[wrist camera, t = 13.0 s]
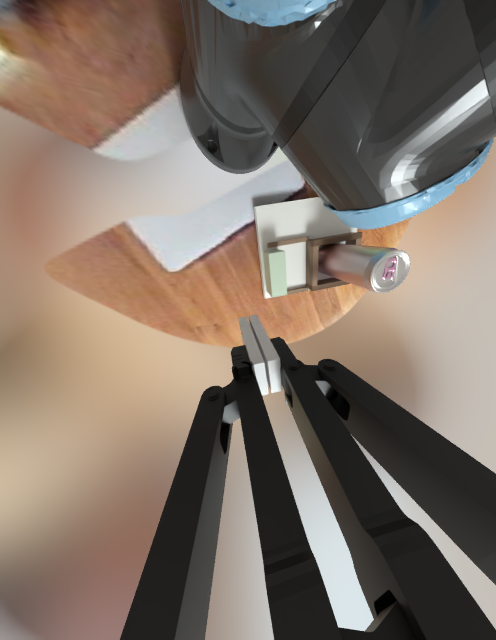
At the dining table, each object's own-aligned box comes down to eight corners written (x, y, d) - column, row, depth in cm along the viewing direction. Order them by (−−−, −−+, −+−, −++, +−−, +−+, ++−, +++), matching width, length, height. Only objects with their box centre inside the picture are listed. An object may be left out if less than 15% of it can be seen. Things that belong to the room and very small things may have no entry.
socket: (306, 240, 35) (313, 240, 32) (351, 232, 35) (362, 232, 33) (305, 287, 39) (312, 291, 36) (345, 279, 40) (355, 282, 37)
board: (253, 207, 32) (256, 205, 30) (356, 192, 34) (364, 189, 32) (263, 296, 40) (265, 299, 38) (346, 280, 42) (352, 282, 40)
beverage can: (341, 240, 36) (417, 244, 23) (339, 270, 39) (405, 289, 25) (314, 245, 35) (374, 252, 22) (313, 275, 38) (366, 298, 25)
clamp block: (262, 251, 34) (268, 254, 31) (277, 249, 34) (285, 251, 31) (266, 291, 38) (272, 297, 34) (280, 288, 38) (287, 294, 34)
